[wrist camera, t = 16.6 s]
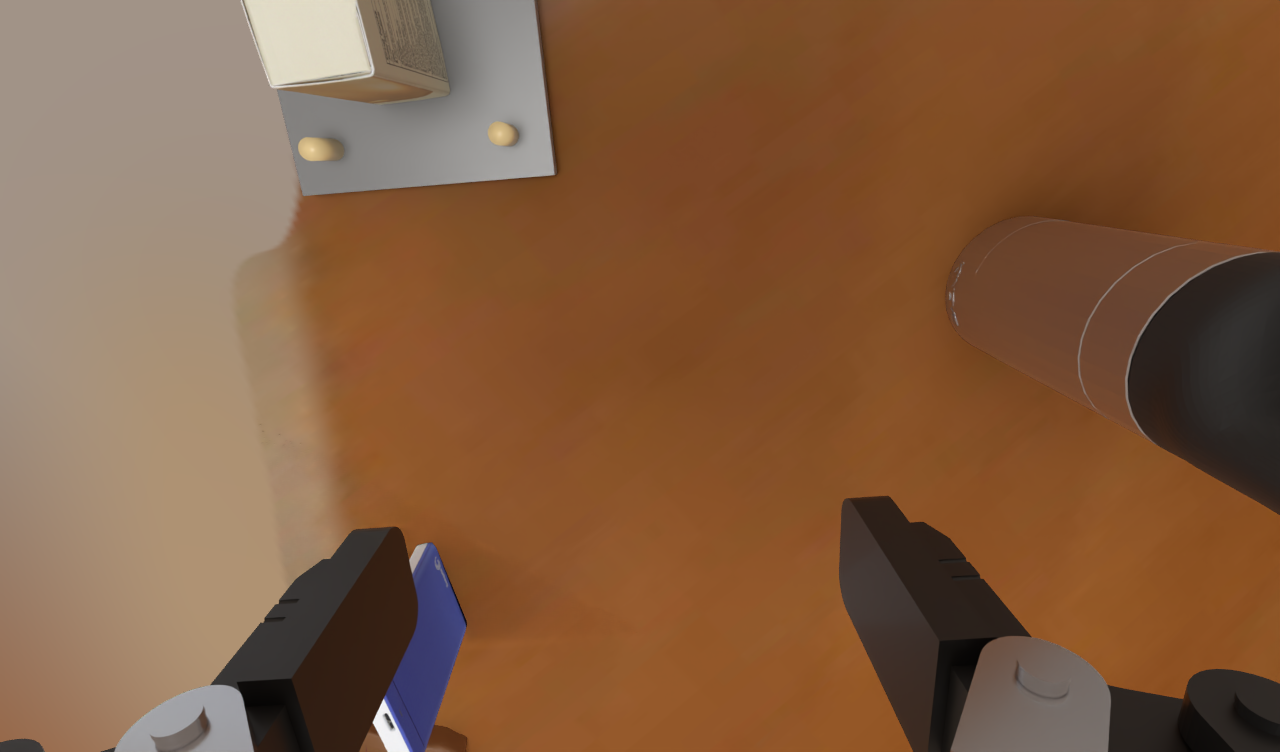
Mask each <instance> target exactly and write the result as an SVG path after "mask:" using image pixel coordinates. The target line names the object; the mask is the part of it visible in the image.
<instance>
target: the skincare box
mask: <svg viewBox="0 0 1280 752" xmlns="http://www.w3.org/2000/svg"><path fill="white" fill-rule="evenodd" d="M240 1H241V4H242V7H243V10H244V13H245V16H246V19H247V22H248V25H249V28H250V31H251V34H252V37H253V40H254V43H255V45H256V48H257V51H258V54H259V56H260V59H261V62H262V65H263V68H264V70H265V73H266V76H267V79H268V82H269V85H270V87H271V88H273V89H278V90H285V91H292V92H299V93H305V94H312V95H318V96H325V97H331V98H338V99H344V100H351V101H358V102H365V103H371V104H377V105H384V104H393V103H401V102H409V101H417V100H424V99H431V98H437V97H443V96H447V95H449V93H450V87H449V82H448V77H447V72H446V67H445V62H444V58H443V53H442V48H441V44H440V40H439V35H438V31H437V27H436V23H435V18H434V14H433V10H432V6H431V2H430V0H240Z"/></svg>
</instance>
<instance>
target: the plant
mask: <svg viewBox="0 0 1280 752" xmlns="http://www.w3.org/2000/svg"><path fill="white" fill-rule="evenodd" d="M466 742H467V737H466V736H464V735H461V734H459V733H457V732H455V731H453V730H451V729H449V728H447V727H443V726H437V725H434V726H433V729H432V732H431V735H430V738H429V741H428V744H427V747H426V750H425V752H466ZM359 752H388V751H387V749H386V748H385V746H384V743H383V741H382V740H381V737H380V736H379V733H378V732H377V730H376V728H375V726H374V724H373V723H372V725H371V727H370V729H369V731H368V734H367V736H366V738H365V740H364V742H363V744H362V746H361V749H360V751H359Z"/></svg>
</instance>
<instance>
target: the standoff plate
mask: <svg viewBox="0 0 1280 752" xmlns="http://www.w3.org/2000/svg"><path fill="white" fill-rule="evenodd" d="M430 2H431V6H432V10H433V14H434V18H435V23H436V27H437V31H438V35H439V40H440V44H441V48H442V53H443V58H444V62H445V67H446V72H447V77H448V82H449V87H450V93H449V95H447V96H443V97H437V98H431V99H424V100H417V101H409V102H401V103H393V104H384V105H377V104H371V103H365V102H358V101H351V100H344V99H338V98H331V97H325V96H318V95H312V94H305V93H299V92H292V91H285V90H278V89H277V92H278V96H279V100H280V104H281V108H282V112H283V116H284V120H285V124H286V128H287V132H288V136H289V141H290V145H291V149H292V153H293V157H294V161H295V165H296V169H297V173H298V177H299V181H300V185H301V189H302V193H303V196H308V195H320V194H332V193H344V192H356V191H368V190H380V189H392V188H404V187H416V186H428V185H440V184H452V183H465V182H477V181H489V180H501V179H513V178H525V177H537V176H549V175H557V169H556V160H555V151H554V143H553V134H552V126H551V117H550V108H549V100H548V91H547V83H546V74H545V65H544V57H543V48H542V40H541V31H540V22H539V14H538V5H537V0H430Z"/></svg>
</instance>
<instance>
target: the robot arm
mask: <svg viewBox="0 0 1280 752" xmlns="http://www.w3.org/2000/svg"><path fill="white" fill-rule="evenodd" d="M946 309H947V313H948V316H949V319H950V321H951V323H952V325H953V327H954V329H955V331H956V332H957V333H958V334H959V335H960V336H961V337H962V338H963V339H964V340H965V341H967V342H968V343H970V344H971V345H973V346H974V347H976V348H978V349H980V350H982V351H984V352H985V353H987V354H989V355H991V356H993V357H994V358H996V359H998V360H1000V361H1002V362H1003V363H1005V364H1007V365H1009V366H1011V367H1013V368H1015V369H1016V370H1018V371H1020V372H1022V373H1024V374H1026V375H1028V376H1029V377H1031V378H1033V379H1035V380H1037V381H1039V382H1041V383H1042V384H1044V385H1046V386H1048V387H1050V388H1052V389H1054V390H1055V391H1057V392H1059V393H1061V394H1063V395H1065V396H1067V397H1068V398H1070V399H1072V400H1074V401H1076V402H1078V403H1080V404H1081V405H1083V406H1085V407H1087V408H1089V409H1091V410H1093V411H1094V412H1096V413H1098V414H1100V415H1102V416H1104V417H1106V418H1108V419H1110V420H1112V421H1114V422H1115V423H1117V424H1119V425H1121V426H1123V427H1125V428H1127V429H1128V430H1130V431H1132V432H1134V433H1136V434H1138V435H1140V436H1141V437H1143V438H1145V439H1147V440H1149V441H1151V442H1153V443H1154V444H1156V445H1158V446H1160V447H1162V448H1163V449H1165V450H1167V451H1169V452H1171V453H1173V454H1175V455H1176V456H1178V457H1180V458H1182V459H1184V460H1186V461H1188V462H1189V463H1191V464H1192V465H1194V466H1195V467H1197V468H1199V469H1200V470H1202V471H1204V472H1205V473H1207V474H1209V475H1211V476H1213V477H1214V478H1216V479H1218V480H1220V481H1222V482H1223V483H1225V484H1227V485H1229V486H1231V487H1232V488H1234V489H1236V490H1238V491H1239V492H1241V493H1243V494H1245V495H1247V496H1248V497H1250V498H1252V499H1254V500H1256V501H1257V502H1259V503H1261V504H1262V505H1264V506H1266V507H1267V508H1269V509H1271V510H1272V511H1274V512H1276V513H1277V514H1279V515H1280V252H1278V251H1271V250H1264V249H1257V248H1250V247H1243V246H1236V245H1230V244H1223V243H1213V242H1207V241H1200V240H1193V239H1186V238H1179V237H1172V236H1166V235H1159V234H1152V233H1145V232H1138V231H1131V230H1125V229H1118V228H1111V227H1104V226H1097V225H1090V224H1084V223H1077V222H1070V221H1065V220H1058V219H1050V218H1043V217H1036V216H1021V217H1014V218H1010V219H1007V220H1003V221H1001V222H998V223H996V224H994V225H992V226H991V227H989V228H987V229H985V230H984V231H983V232H982V233H980V234H979V235H978V236H976V237H975V238H974V239H973V240H972V241H971V242H970V243H969V244H968V245H967V246H966V247H965V248H964V249H963V251H962V252H961V254H960V255H959V257H958V258H957V260H956V261H955V263H954V265H953V267H952V270H951V273H950V275H949V278H948V282H947V288H946ZM839 579H840V587H841V593H842V597H843V601H844V604H845V607H846V609H847V612H848V614H849V616H850V618H851V620H852V622H853V624H854V626H855V629H856V631H857V633H858V635H859V637H860V639H861V641H862V643H863V646H864V648H865V650H866V652H867V654H868V656H869V658H870V660H871V663H872V665H873V667H874V669H875V671H876V673H877V675H878V677H879V680H880V682H881V684H882V686H883V688H884V690H885V692H886V694H887V696H888V699H889V701H890V703H891V705H892V707H893V709H894V711H895V713H896V716H897V718H898V720H899V722H900V724H901V726H902V728H903V730H904V733H905V735H906V737H907V739H908V741H909V743H910V745H911V747H912V750H913V752H1280V684H1279V683H1277V682H1274V681H1272V680H1269V679H1266V678H1263V677H1260V676H1257V675H1253V674H1249V673H1245V672H1241V671H1234V670H1226V669H1212V670H1205V671H1201V672H1199V673H1197V674H1195V675H1193V676H1192V677H1191V678H1190V680H1189V682H1188V685H1187V688H1186V692H1185V695H1184V699H1178V698H1173V697H1167V696H1162V695H1156V694H1151V693H1145V692H1139V691H1134V690H1128V689H1123V688H1118V687H1114V686H1110V685H1107V684H1106V682H1105V681H1104V679H1103V678H1102V676H1101V675H1100V674H1099V673H1098V672H1097V670H1095V669H1094V668H1093V667H1092V666H1091V665H1090V664H1089V663H1088V662H1086V661H1085V660H1084V659H1082V658H1081V657H1079V656H1078V655H1076V654H1074V653H1073V652H1071V651H1069V650H1067V649H1065V648H1063V647H1061V646H1059V645H1056V644H1054V643H1051V642H1048V641H1045V640H1041V639H1038V638H1032V637H1031V636H1030V634H1029V633H1028V632H1027V631H1026V630H1025V628H1024V627H1023V626H1022V625H1021V624H1020V622H1019V621H1018V620H1017V619H1016V618H1015V616H1014V615H1013V614H1012V613H1011V612H1010V610H1009V609H1008V608H1007V607H1006V606H1005V604H1004V603H1003V602H1002V601H1001V600H1000V598H999V597H998V596H997V595H996V594H995V592H994V591H993V590H992V589H991V588H990V586H989V585H988V584H987V583H986V582H985V580H984V579H980V574H979V573H978V572H977V571H976V570H975V568H974V567H973V566H972V565H971V564H970V562H966V558H965V556H964V555H963V554H962V553H961V552H960V550H959V549H958V548H957V547H956V546H955V544H954V543H953V542H952V541H951V540H950V538H948V537H947V536H945V535H943V534H942V533H940V532H939V531H937V530H935V529H934V528H932V527H931V526H929V525H927V524H926V523H924V522H914V523H910V522H909V521H908V520H907V518H906V517H905V516H904V514H903V513H902V512H901V510H900V509H899V508H898V506H897V505H896V504H895V503H894V501H893V500H892V499H891V498H890V497H889V496H877V497H862V498H847V499H845V500H844V502H843V505H842V513H841V538H840V563H839ZM417 619H418V598H417V593H416V589H415V584H414V580H413V575H412V571H411V566H410V562H409V557H408V553H407V548H406V544H405V539H404V536H403V533H402V531H401V530H400V529H399V528H398V527H384V528H369V529H356V530H353V531H352V532H351V533H350V534H349V535H348V536H347V538H346V539H345V540H344V542H343V543H342V544H341V546H340V547H339V548H338V549H337V551H336V552H335V553H334V555H333V556H332V557H331V559H323V560H321V561H320V562H319V563H317V564H316V565H315V566H313V567H312V568H310V569H309V570H308V571H306V572H305V573H303V574H302V575H301V576H299V577H298V578H297V579H296V580H295V581H294V582H293V583H292V585H291V586H290V587H289V588H288V590H287V591H286V592H285V593H284V595H283V596H282V597H281V598H280V600H279V604H276V605H275V606H274V607H273V608H272V609H271V611H270V612H269V613H268V614H267V616H266V617H265V621H264V623H260V624H259V626H258V627H257V628H256V629H255V630H254V632H253V633H252V634H251V636H250V637H249V638H248V639H247V640H246V642H245V643H244V644H243V645H242V647H241V648H240V649H239V650H238V651H237V653H236V654H235V655H234V656H233V658H232V659H231V660H230V661H229V663H228V664H227V665H226V666H225V668H224V669H223V670H222V671H221V673H220V674H219V675H218V676H217V677H216V679H215V680H214V681H213V682H212V684H211V685H210V686H204V687H199V688H196V689H193V690H189V691H187V692H184V693H182V694H179V695H177V696H175V697H173V698H171V699H169V700H167V701H165V702H164V703H162V704H160V705H159V706H157V707H155V708H154V709H152V710H151V711H149V712H148V713H147V714H145V715H144V716H143V717H142V718H140V719H139V720H138V721H137V722H136V723H135V724H134V725H133V726H132V727H131V728H130V729H129V730H128V731H127V732H126V733H125V735H124V736H123V737H122V738H121V740H120V741H119V743H118V745H117V747H115V748H112V749H108V750H105V751H102V752H359V751H360V749H361V746H362V744H363V742H364V740H365V738H366V736H367V734H368V731H369V729H370V727H371V725H372V723H373V721H374V719H375V716H376V714H377V712H378V710H379V708H380V706H381V704H382V701H383V699H384V697H385V695H386V693H387V691H388V689H389V686H390V684H391V682H392V680H393V678H394V676H395V674H396V671H397V669H398V667H399V665H400V663H401V661H402V659H403V656H404V654H405V652H406V650H407V648H408V646H409V643H410V641H411V639H412V637H413V635H414V632H415V629H416V625H417ZM0 752H45V751H44V749H43V748H42V746H41V745H40V743H38V742H36V741H34V740H30V739H15V740H9V741H4V742H0Z"/></svg>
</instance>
